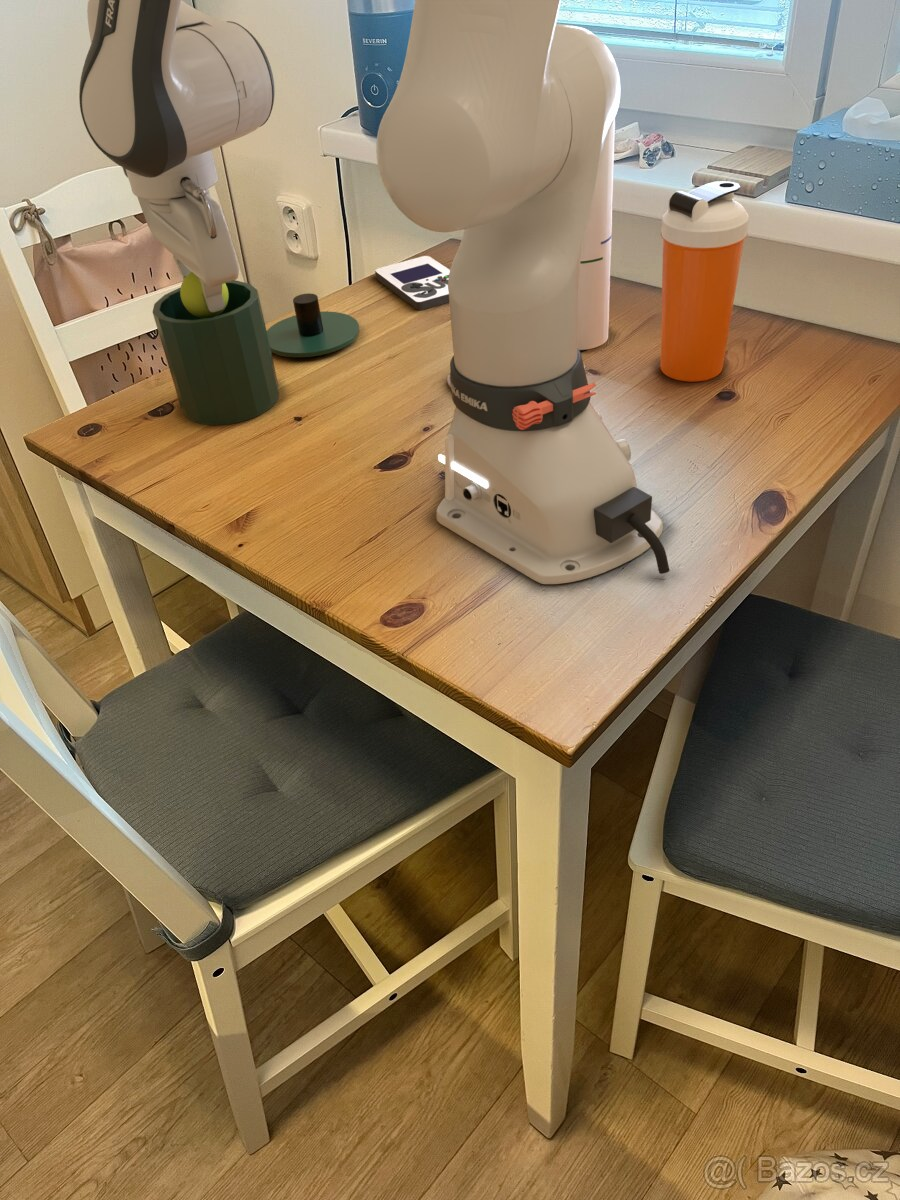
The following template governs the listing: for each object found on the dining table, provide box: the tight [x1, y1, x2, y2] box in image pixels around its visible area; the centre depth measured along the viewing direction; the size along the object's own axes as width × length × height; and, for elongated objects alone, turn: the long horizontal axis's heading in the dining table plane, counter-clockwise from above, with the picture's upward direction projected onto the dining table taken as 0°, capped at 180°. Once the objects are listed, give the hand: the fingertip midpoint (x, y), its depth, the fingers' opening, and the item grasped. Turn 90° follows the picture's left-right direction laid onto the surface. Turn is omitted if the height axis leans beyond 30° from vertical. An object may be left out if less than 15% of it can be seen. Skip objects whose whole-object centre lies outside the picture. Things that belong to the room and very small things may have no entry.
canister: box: [152, 279, 280, 426], centre depth 108 cm, size 12×12×12 cm
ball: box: [180, 272, 229, 318], centre depth 104 cm, size 5×5×5 cm
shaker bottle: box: [660, 180, 750, 383], centre depth 103 cm, size 9×9×20 cm
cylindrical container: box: [577, 118, 616, 351], centre depth 110 cm, size 7×7×25 cm
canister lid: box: [266, 293, 360, 358], centre depth 122 cm, size 13×13×6 cm
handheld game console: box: [374, 255, 450, 311], centre depth 134 cm, size 9×15×1 cm, turn 27°
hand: (205, 299), depth 104 cm, fingers open, 5 cm apart
